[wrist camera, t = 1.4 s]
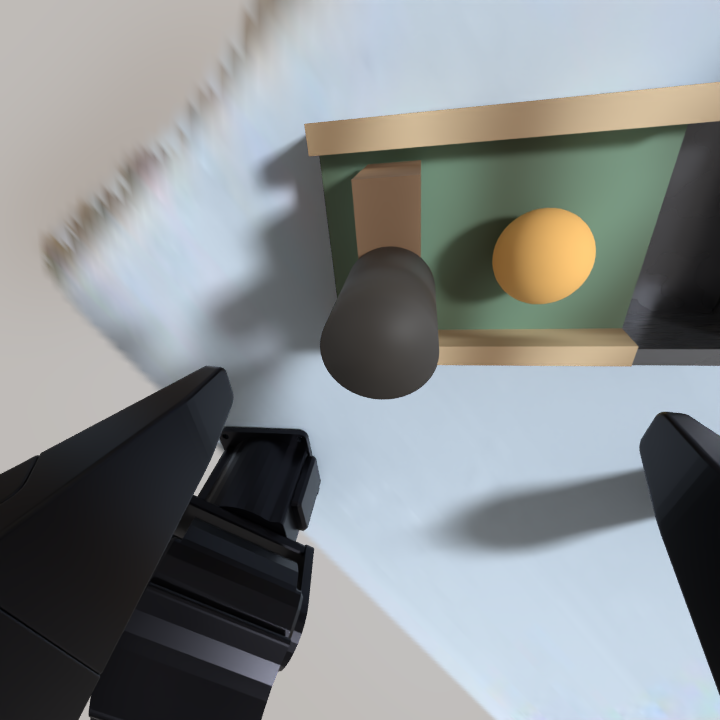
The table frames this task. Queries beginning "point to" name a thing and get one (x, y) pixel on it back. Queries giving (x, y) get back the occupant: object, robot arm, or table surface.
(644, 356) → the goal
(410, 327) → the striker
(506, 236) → the ball
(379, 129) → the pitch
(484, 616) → the table surface
